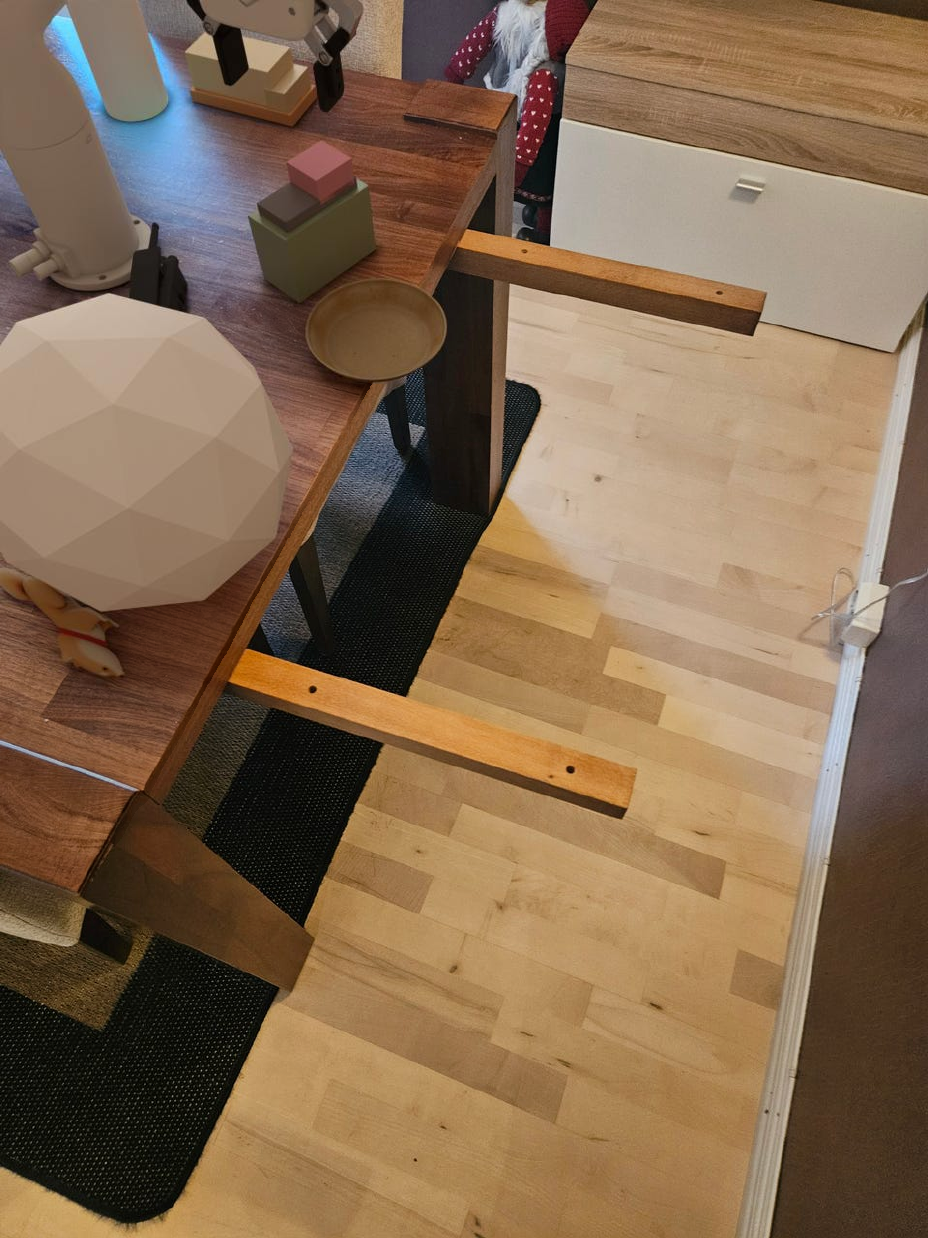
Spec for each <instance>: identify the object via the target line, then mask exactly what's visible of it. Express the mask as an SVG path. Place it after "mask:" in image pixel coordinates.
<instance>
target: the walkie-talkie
mask: <svg viewBox="0 0 928 1238" xmlns="http://www.w3.org/2000/svg"><path fill="white" fill-rule="evenodd" d="M150 230H151V234H150V240H149V246H148V249H142V250H138V251H135V252H134V254H133V260H132V266H131V276H130V281H129V290H128V298H129V299H133V300H137V301H141V302H145V303H149V304H153V305H157V306H160V307H164V308H168V309H172V310H176V311H180V312H184V313H185V307H186V302H187V295H188V287H189V285H188V281H187V279H186V277H185V275H184V274H183V272H182V270H181V269H180V267H179V266H180V265H179V264H180V261H179V259H178V257H177V256H176V255H173V254H170V255H167V256H165V255H162V248H161V247H160V246H158V242H159V231H160V225H159V224H158V223H157V222H156V221H154V222H152V223H151V229H150Z"/></svg>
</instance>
